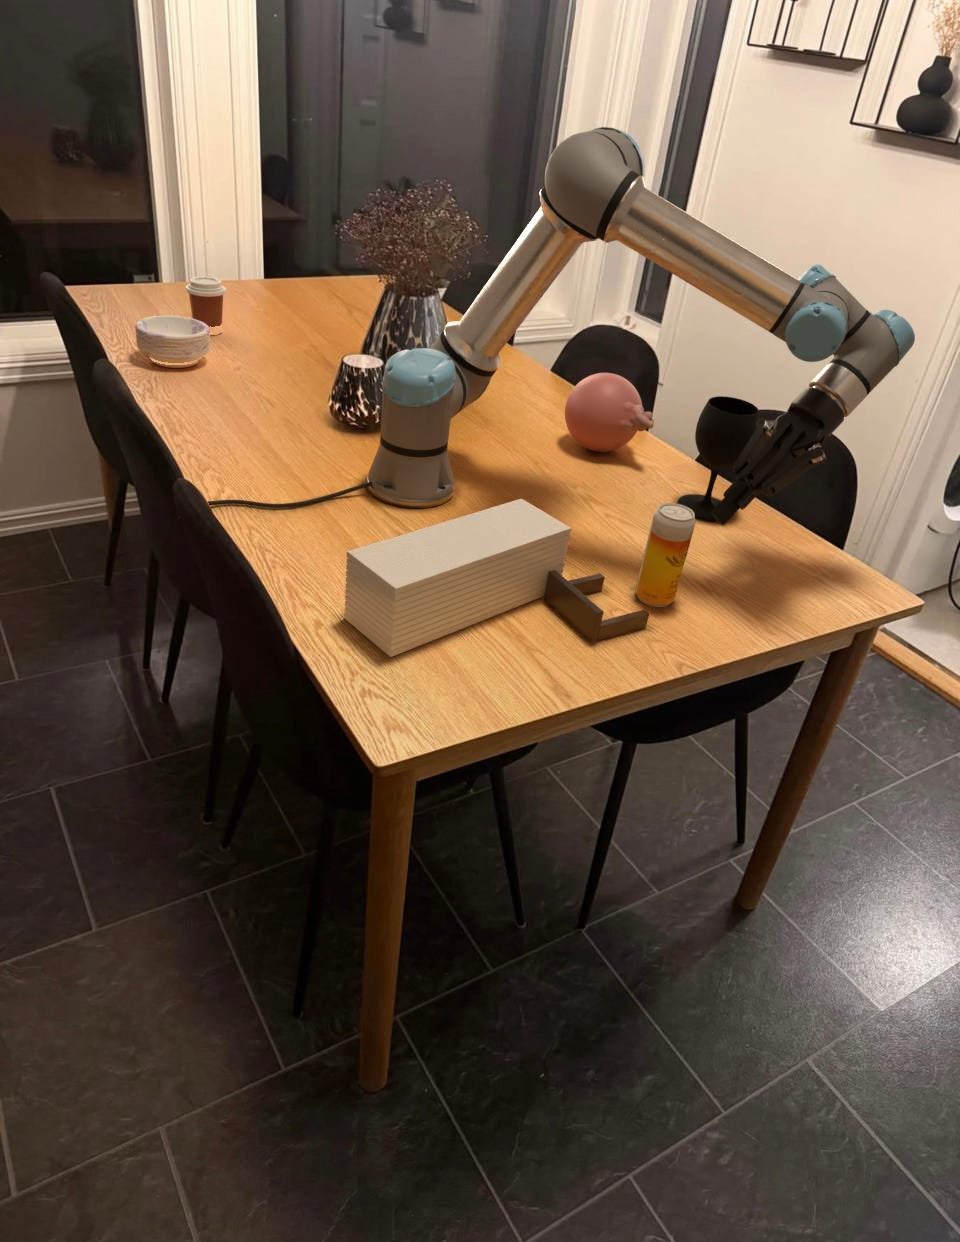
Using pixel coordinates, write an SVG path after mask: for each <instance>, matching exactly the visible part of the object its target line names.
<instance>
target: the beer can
mask: <svg viewBox="0 0 960 1242" xmlns="http://www.w3.org/2000/svg"><path fill="white" fill-rule="evenodd" d="M694 516H695V514H694V512H693V511H692V510H691V509H690V508H688V507H686V506H684V505H680V504H677V502H665V503H661V504H659V506H658V507H657V509H656V510H655V511H654V513H653V516H652V521H651V524H650V529H649V533H648V536H647V541H646V545H645V549H644V553H643V556H642V557H643V558H642V560H641V566H640V569H639V574H638V577H637V582H636V585H635V594H636V595H637V598H638V600H639V601H640V602H642V603H643V604H645V605H646V606H650V607H653V608H654V607H655V608H665V607H667V606H670V604H671V603H673V602H674V601H675V599H676V596H677V592H678V588H679V584H680V582H681V581H680V580H681V577H682V573H683V570H684V568H685V567H684V566H685V563H686V559H687V556H688V551H689V548H690V546H691V545H690V544H691V542H692V538H693V534H694V530H695V527H696V524H697V523H696V518H695V517H694Z"/></svg>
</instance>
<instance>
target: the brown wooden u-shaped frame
mask: <svg viewBox="0 0 960 1242" xmlns="http://www.w3.org/2000/svg"><path fill="white" fill-rule="evenodd" d="M604 582H605V576H604V574H602V573H596V574H590V575H586V576H582V577H577V578H574V579H569V580H568V579H567V578H565V577H564V576H563V574H562V575H560V574H559V573H558V572H557V571H556V570H552V571H549V572H548V577H547V583H546V588H545V594H544V596H543V601H544V602H545V603H547V605H548V606H550V607H551V608H552V609H553V610H554V611H555V612H556V613H557V614H558V615H559V616H561V617H562V618H563V619H564V620H565V621H566V622H567V623H568V624H569V625H571V626H572V628H574V629H575V630H576V632H578V633H579V634H581V636H583V638H585V639H586V641H588V642H589V643H596V642H599V641H602V640H605V639H609V638H613V637H617V636H620V635H624V634H627V633H632V632H634V631H638V630H643V629H646V628H647V625H648V621H649V617H650V613H649V612H648V611H647V610H646V609H641V610H637V611H633V612H629V613H626V614H622V615H618V616H613V617H609V618H607V619H603V616H604V610H603V609H601V608H600V607H599V606H597V604H595V603H594V601H592V600H591V599H590V598H588V597H587V596H586V595H590V594H594V593H597V592H602V591H603V587H604V584H605V583H604Z"/></svg>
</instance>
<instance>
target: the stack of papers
mask: <svg viewBox="0 0 960 1242" xmlns="http://www.w3.org/2000/svg"><path fill="white" fill-rule="evenodd" d="M571 532H572V527H571V526H568V525H567V524H566V523H563V522H562V521H561V520H559V519H557V518H555V517H553V515H550V514H548V513H547V512H545V511H543V510H542V509H540V508H538V507H536V505H533V504H532V503H530V502H528V501H527V500H525V499H523V498H518V499H515V500H512V501H508V502H505V503H502V504H499V505H495V506H491V507H489V508H486V509H482V510H479V511H475V512H472V513H469V514H466V515H462V516H459V517H456V518H453V519H450V520H446V521H442V522H439V523H437V524H433V525H430V526H426V527H423V528H419V529H417V530H416V529H415V530H413V531H410V532H406V533H403V534H399V535H397V536H393V537H390V538H387V539H383V540H379V541H376V542H373V543H371V544H366V545H364V546H360V547H357V548H354V549H350V550H347V551H346V563H345V564H346V565H345V566H346V567H345V568H346V571H345V576H346V577H345V589H344V590H345V591H344V592H345V593H344V594H345V595H344V600H345V601H344V606H345V607H344V617H343V619H344V620H346V621H347V622H348V623H349V624H350V625H352V627H354V628H355V629H356V630H358V631H359V632H360V633H361V634H362V635H364V636H365V638H367V639H368V640H369V641H370V642H372V644H374V645H375V646H377V647H378V648H379V649H380V650H381V651H382V652H384V653H385V654H386V655H387V656H389V658H392V657H394V656H397V655H400V654H402V653H405V652H407V651H409V650H412V649H414V648H417V647H420V646H423V645H425V644H427V643H430V642H433V641H435V640H438V639H440V638H442V637H445V636H447V635H450V634H452V633H455V632H457V631H461V630H463V629H466V628H469V627H470V626H473V625H475V624H478V623H480V622H482V621H483V622H484V621H485V620H488V619H490V618H492V617H495V616H497V615H500V614H503V613H505V612H507V611H510V610H513V609H515V608H517V607H520V606H522V605H525V604H528V603H530V602H533V601H536V600H537V599H540V598H544V594H545V588H546V583H547V577H548V572H549V571H552V570H556V571H557V572H558V573H559V574H560V575H562V576H563V573H564V567H565V562H566V559H567V558H566V556H567V552H568V548H569V547H568V545H569V544H570V543H569V542H570V537H571Z"/></svg>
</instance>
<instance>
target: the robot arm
mask: <svg viewBox="0 0 960 1242" xmlns="http://www.w3.org/2000/svg"><path fill="white" fill-rule="evenodd" d="M644 158H645V157H644V155H643V152H642V150H641V148H640V146H639V144H638V143H637V141H636V139H634V138H633V137H632V136H631V135H629V134H628V133H627V132H625V131H623V130H620V129H617V128H615V127H611V126H610V127H609V126H601V127H596V128H593V129H590V130H588V131H583V132H582V131H581V132H578V133H574V134H571V135H570V136H568V137H566V138H565V139H563V140H562V141H560V142H559V144H558V145H557V146H556V147H555V148H554V149H553V151H552V152H551V154H550V156H549V158H548V160H547V163H546V166H545V171H544V185H542V187H541V189H540V190H539V199H540V207H539V209H538V210H537V212H536V213H535V214H534V216H533V217H532V219H531V220H530V221H529V223H528V224H527V225H526V227H525V229H524V230H523V231H522V233H521V234H520V235H519V237H518V238H517V240H516V241H515V243H514V244H513V246H512V247H511V249H510V250H509V251H508V253H507V254H506V255H505V257H504V258H503V260H502V261H501V262H500V264H499V265H498V266H497V268H496V270H495V271H494V272H493V274H492V275H491V277H490V278H489V279H488V281H487V282H486V284H485V285H484V286H483V288H482V289H481V291H480V293H479V294H478V295H477V296H476V298H475V299H474V301H473V302H472V304H471V305H470V306H469V307H468V309H467V310H466V312H465V313H464V315H463V316H462V318H461V319H460V321H450V322H447V324H446V325H445V326H444V328H443V329H442V330H441V331H440V333H439V334H438V336H437V338H435V340H434V341H433V343H432V344H431V346H430V347H429V348H428V347H427V348H426V347H425V348H424V347H416V348H411V350H410V349H403V350H400V351H398V352H396V353H393V355H391V356H390V357H389V358H388V360H387V361H386V363H385V365H384V371H383V372H384V373H383V377H382V382H381V384H382V387H381V388H382V399H381V417H380V419H381V420H380V435H379V436H380V438H379V446H378V449H377V451H376V453H375V456H374V457H373V460H372V463H371V465H370V468H369V470H368V474H367V479H366V480H367V481H366V482H365V483H362V484H359V485H355V486H352V487H349V488H345V489H343V490H340V491H337V492H334V493H329V494H326V495H322V496H318V497H315V498H311V499H306V500H302V501H301V500H300V501H296V502H286V503H269V502H268V503H267V502H261V501H260V502H259V501H253V500H244V499H219V500H207V501H208V503H209V506H220V505H245V506H252V507H259V508H266V509H267V508H268V509H285V508H286V509H287V508H296V507H302V506H307V505H312V504H315V503H320V502H323V501H327V500H330V499H334V498H338V497H341V496H343V495H346V494H350V493H352V492H355V491H360V490H362V489H365V488H367V490H368V492H369V493H370V494H371V495H372V496H373V497H374V498H376V499H378V500H380V501H381V502H384V503H386V504H389V505H392V506H397V507H400V508H401V507H402V508H409V509H410V508H411V509H426V508H433V507H437V506H440V505H443V504H445V503H447V502H448V501H449V500H450V499H451V498H452V497H453V495H454V490H455V478H454V474H453V471H452V466H451V462H450V458H449V453H448V449H449V447H448V445H449V438H450V437H449V436H450V429H451V422H452V421H451V420H452V419H453V418H454V417H455V416H457V415H458V414H459V413H460V412H461V411H463V410H464V409H465V408H467V407H468V406H469V405H471V404H473V403H474V402H476V401H477V400H478V399H480V398H481V397H482V396H483V395H484V394H485V392H486V391H487V389H488V386H489V385H490V383H491V380H492V378H493V376H494V374H495V373H496V372H497V371H498V370H499V368H500V367H501V356H500V355H501V354H500V353H501V351H502V350H503V349H504V348H505V346H506V344H507V343H508V342H509V341H510V339H511V338H512V336H514V334H515V333H516V332H517V330H518V329H519V328H520V326H521V325H522V324H523V323H524V321H525V320H526V318H528V316H529V314H530V313H531V312H532V311H533V309H534V308H535V307H536V305H537V304H538V303H539V301H541V299H542V298H543V296H544V295H545V293H546V292H547V291H548V289H549V288H550V287H551V285H552V284H553V283H554V281H556V279H557V277H558V276H559V275H560V274H561V273H562V272H563V270H564V268H565V267H566V266H567V264H568V263H569V262H570V260H571V259H572V258H573V257H574V256H575V254H576V253H577V252H578V250H579V249H580V247H581V246H582V245H583V244H584V243H588V242H596V241H598V240H600V241H602V242H604V243H606V244H608V243H612V242H616V241H617V242H619V243H620V244H623V245H624V246H626V247H627V248H629V249H630V250H632V251H634V252H636V253H637V254H639V255H641V256H642V257H644V258H645V259H647V260H649V261H651V262H652V263H654V264H655V265H657V266H659V267H661V268H662V269H664V270H665V271H667V272H669V273H671V274H672V275H673V276H675V277H677V278H678V279H680V280H682V281H684V282H685V283H687V284H689V285H690V286H692V287H694V288H695V289H697V290H698V291H700V292H702V293H704V294H706V295H707V296H709V297H710V298H712V299H714V300H716V301H717V302H719V303H720V304H722V305H724V306H726V307H727V308H729V309H730V310H732V311H734V312H735V313H737V314H738V315H740V316H742V317H744V318H745V319H747V320H748V321H750V322H752V323H754V324H755V325H757V326H758V327H760V328H762V329H764V330H765V331H767V332H768V333H770V334H771V335H773V336H774V337H776V338H778V339H779V340H781V341H783V342H785V344H786V347H787V349H788V351H790V353H791V354H792V355H793V356H794V357H795V358H796V359H798V360H801V361H803V362H806V363H807V362H808V363H817V362H822V361H824V360H826V359H829V358H830V357H831V356H833V358H832V359H831V360H830V361H829V362H828V363H827V365H825V366H824V367H823V369H822V370H820V371H819V373H817V375H816V376H815V377H814V378H813V379H812V380H811V381H810V382H809V383H808V387H805V388H804V389H803V390H802V391H801V392H800V393H799V394H798V395H797V396H796V398H794V399H793V400H792V401H791V403H790V404H789V407H788V409H787V411H785V412H783V414H781V415H779V416H777V417H776V419H774V420H767V419H766V418H765V417H760V418H759V420H758V421H757V426H756V430H755V432H754V433H753V435H752V437H751V438H750V440H749V441H748V443H747V445H746V446H745V448H744V449H743V451H742V453H741V454H740V456H739V457H738V459H737V461H736V462H735V464H734V465H732V466H731V470H732V472H733V474H734V475H735V477H736V478H735V480H734V481H733V483H731V484H730V485H729V487H727V488H726V490H725V491H724V492H723V494H722V496H723V498H722V499H721V502H720V503H719V504H718V505H717V506H716V507H715V508H714V509H713V510H712V511H711V514H712V515H713V517H714V518H715V520H716V521H717V522H716V523H718V524H720V525H721V526H725V525H726V524H727V523H728V521H730V520H731V519H732V517H733V516H734V515H735V514H736V513H737V512H738V511H739V510H741V511H742V510H744V509H746V508H747V507H748V506H749V505H750V504H751V503H752V502H753V501H754V499H756V498H757V496H760V495H763V496H766V497H767V498H772V497H774V496H775V495H776V494H778V493H779V492H780V491H782V490H783V489H784V488H786V487H787V486H789V485H790V484H791V483H793V482H794V481H795V480H797V479H798V478H800V477H802V476H803V475H804V474H805V473H807V472H808V471H809V470H810V469H812V468H814V467H817V466H820V465H823V464H825V463H826V462H827V459H828V458H827V456H826V454H825V452H824V449H823V448H822V446H823V445H824V443H825V440H826V439H827V438H829V437H830V436H831V435H832V434H833V433H834V432H835V431H836V430H837V429H838V428H839V427H840V426H841V425H842V424H843V423H844V420H845V418H847V417H849V416H850V415H851V414H852V413H853V412H854V410H856V408H857V407H858V406H859V405H860V404H861V403H862V402H863V401H864V400H865V398H867V397H868V395H870V393H871V392H872V391H873V390H874V389H875V388H876V387H877V386H878V385H879V384H880V383H881V382H882V381H883V380H884V379H885V378H886V377H887V376H888V375H889V374H890V373H891V372H892V370H893V369H894V368H895V367H898V366H899V364H900V362H901V361H902V360H903V358H904V357H905V356H906V355H907V353H908V352H909V351H910V350H911V349H912V348H913V346H914V344H915V340H916V335H915V331H914V329H913V326H912V325H911V324H910V323H909V321H908V320H907V319H906V318H905V317H903V316H900V315H898V314H897V312H896V311H894V310H890V309H880V310H878V311H876V312H875V313H874V314H873V313H872V312H870V311H869V310H868V309H867V308H866V307H864V305H862V304H861V303H860V301H858V299H856V297H854V295H853V294H852V293H851V292H850V291H849V290H848V289H847V288H846V287H845V286H844V285H843V284H842V283H841V282H840V281H839V280H838V279H837V276H836V275H835V274H832V273H831V272H830V271H828V270H827V269H826V267H824V266H822V265H821V264H813V265H812V266H810V267H809V268H807V269H806V270H805V271H804V272H803V273H802V274H801V275H800V276H799V277H798V278H797V277H795V276H793V275H792V274H790V273H788V272H786V271H784V270H783V269H782V268H780V267H778V266H776V265H775V264H773V263H772V262H769V261H768V260H767V259H765V258H763V257H761V256H759V255H758V254H756V253H755V252H753V251H751V250H750V249H748V248H747V247H745V246H743V245H741V243H738V242H737V241H735V240H733V239H732V238H730V237H728V236H727V235H725V234H723V233H722V232H720V231H718V230H717V229H714V228H713V227H712V226H710V225H708V224H706V223H705V222H703V221H701V220H700V219H698V218H696V217H695V216H693V215H692V214H690V213H689V212H687V211H685V210H683V209H681V208H680V207H678V206H677V205H675V204H673V203H672V202H670V201H668V200H666V199H665V198H663V197H662V196H660V195H658V194H656V193H655V192H653V191H652V190H650V189H648V188H647V187H646V182H645V172H646V166H645V165H646V164H645V159H644ZM178 519H179V520H181V519H180V516H179V517H178Z"/></svg>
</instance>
